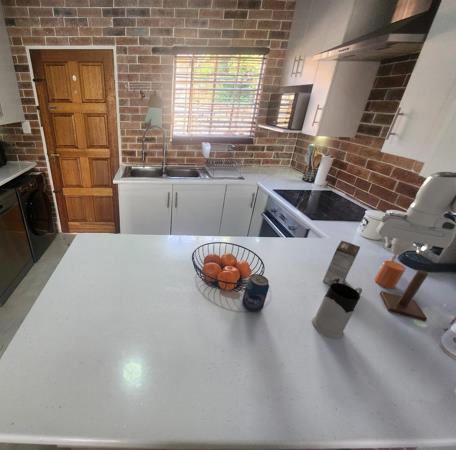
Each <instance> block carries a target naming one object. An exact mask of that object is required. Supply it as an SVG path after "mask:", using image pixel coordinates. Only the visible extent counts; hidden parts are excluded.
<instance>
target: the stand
mask: <svg viewBox="0 0 456 450" xmlns="http://www.w3.org/2000/svg"><path fill="white" fill-rule="evenodd" d="M428 276H429V272H427V271H426V270H423V269H417V271H416V272H415V273H414V275H413V277H412V279H411V280H410V282H409V283H408V285H407V287H406V288H405V289H404V291H403V293H402V295H399V294H396V293H391V292H387V291H384V290H381V291H380V292H379V296H380V298H381V300H382V302H383V304H384V306H385V307H386V309H387V311H388V312H390V313H393V314H398V315H401V316H403V317H408V318H411V319H415V320H419V321H423V322H426V321H427V320H428V317H427V315H426V314H425V312H424V311H423V309H422V308H421V307H420V305H419V303H418V302H417V300H416V299H415V298H414V297H415V296H416V294H417V293H418V291H419V289H420V288H421V286H422V285H423V284H424V282H425V280H426V279H427V278H428Z"/></svg>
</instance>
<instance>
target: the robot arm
mask: <svg viewBox="0 0 456 450" xmlns="http://www.w3.org/2000/svg"><path fill="white" fill-rule="evenodd" d="M448 212H452V213H455V214H456V172H452V171H438V172H434V173H431V174H429V176H428V177H426V178H425V180H424V181H423V183H422V185H420V188H419V189H418V191H417V193H416V194H415V199H414V201H412V203H411V204H410V205H409V207H408V208H407V210H406V211H405V213H396V212H387V213H385V214H384V215H383V216H382V217H381V221H380V223H379V224H378V225H377V226H376V229H375V230H376V233H377V234H378V235H379V236H381V237H384V238H385V239H384V240H385V243H384V247H385V248H386V249H387V248H388V249H392V245H393V244H392V240H393V239H394V238H396V239H401V240H406V241H411V242H414V243H416V244H420V245H424V246H422V247H417V248H416V250H415V253H416V255H420V256H421V255H424V253H425V252H427V251H429V250H431V249H432V248H433V247H437V248H442V249H445V248H448V247H450V245H451V244H452V243H453V241H454V239H455V237H456V222H455V221H454V220H452V219H450V218H448V217H447V216H445V214H446V213H448Z"/></svg>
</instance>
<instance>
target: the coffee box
mask: <svg viewBox="0 0 456 450" xmlns="http://www.w3.org/2000/svg"><path fill="white" fill-rule="evenodd" d="M360 249H361V246H359V245H357V244H354V243H351V242H348V241H346V240H340V241H339V244H338V245H337V247H336V249H335V252H334V254H333V256H332V259H331V261H330V263H329V265H328V268H327V270H326V272H325V275H324V277H323V279H322V283H325V284H327V285H329V286H330V285H331V284H332V283H341V284H344V282H345V281H346V279H347V276H348V275H349V272H350V270H351V268H352V267H353V264H354V262H355V260H356V258H357V257H358V254H359V251H360Z"/></svg>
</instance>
